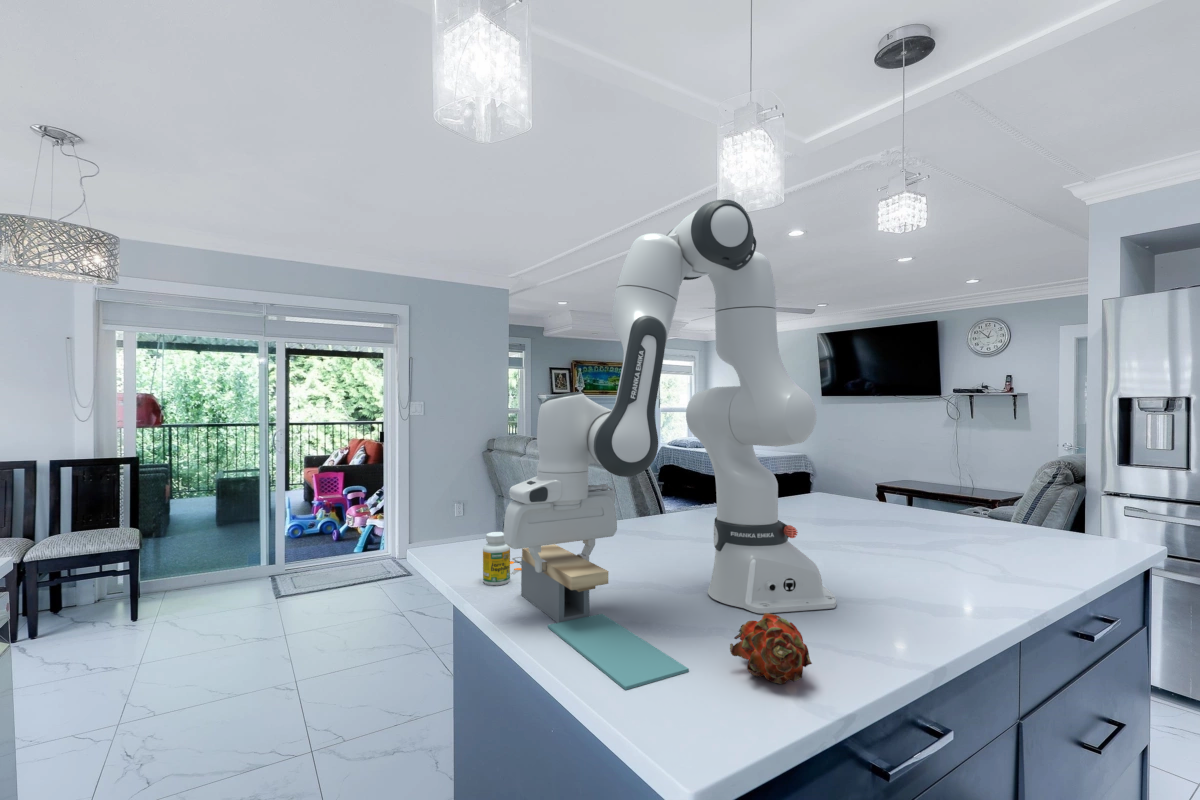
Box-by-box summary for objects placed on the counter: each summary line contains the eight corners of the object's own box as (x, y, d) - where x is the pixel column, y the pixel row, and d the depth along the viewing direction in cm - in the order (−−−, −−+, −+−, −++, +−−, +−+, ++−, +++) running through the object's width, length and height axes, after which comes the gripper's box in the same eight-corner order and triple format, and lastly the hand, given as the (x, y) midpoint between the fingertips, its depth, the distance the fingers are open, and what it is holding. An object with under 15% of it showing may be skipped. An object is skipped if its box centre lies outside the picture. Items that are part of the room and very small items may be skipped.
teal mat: (688, 671, 76) (688, 668, 76) (625, 690, 71) (625, 686, 71) (602, 616, 96) (602, 613, 96) (547, 627, 91) (547, 624, 91)
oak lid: (608, 588, 91) (608, 571, 91) (571, 595, 88) (571, 577, 88) (554, 559, 109) (554, 544, 109) (522, 563, 105) (522, 548, 105)
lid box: (589, 617, 96) (589, 575, 96) (558, 623, 93) (558, 580, 93) (548, 590, 109) (548, 553, 109) (521, 595, 107) (521, 557, 107)
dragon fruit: (798, 714, 69) (743, 683, 80) (840, 662, 72) (781, 639, 83) (757, 660, 68) (707, 636, 79) (801, 609, 71) (747, 593, 82)
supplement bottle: (503, 576, 118) (503, 529, 118) (514, 583, 114) (514, 534, 114) (478, 580, 115) (478, 532, 115) (489, 587, 111) (489, 538, 111)
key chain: (498, 560, 131) (498, 557, 131) (529, 557, 134) (529, 554, 134) (509, 576, 119) (509, 572, 119) (543, 573, 122) (543, 569, 122)
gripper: (605, 481, 106) (605, 555, 106) (500, 489, 96) (500, 571, 96) (623, 485, 101) (623, 564, 101) (514, 494, 90) (513, 582, 90)
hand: (562, 568), depth 98 cm, fingers closed on oak lid, 7 cm apart
